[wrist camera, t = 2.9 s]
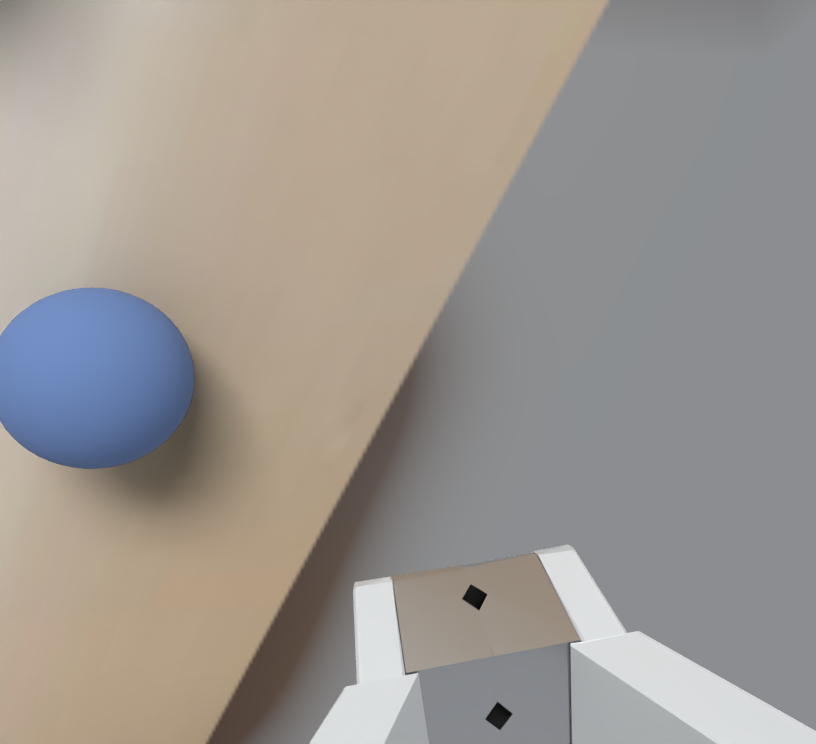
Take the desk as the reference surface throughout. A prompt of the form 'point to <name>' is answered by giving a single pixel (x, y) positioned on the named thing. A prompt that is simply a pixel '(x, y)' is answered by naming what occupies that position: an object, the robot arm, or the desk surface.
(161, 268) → the desk surface
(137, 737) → the desk surface
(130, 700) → the desk surface
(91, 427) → the ball
